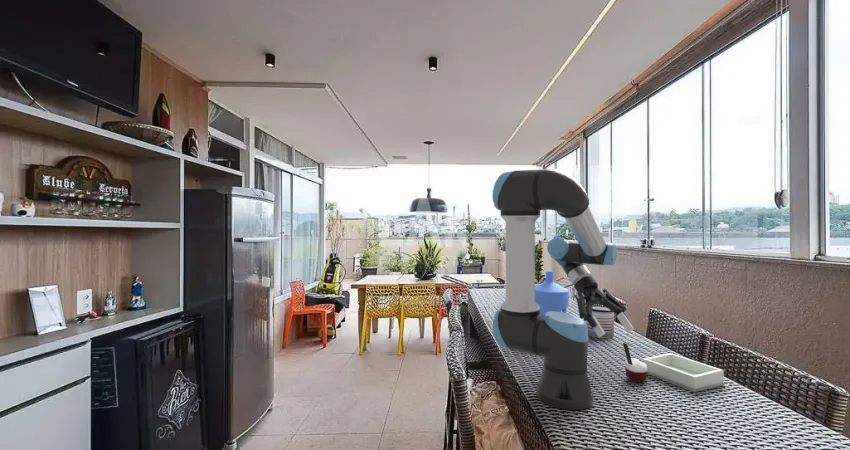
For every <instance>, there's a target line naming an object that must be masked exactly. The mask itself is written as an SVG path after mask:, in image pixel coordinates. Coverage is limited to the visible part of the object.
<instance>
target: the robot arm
mask: <svg viewBox="0 0 850 450" xmlns="http://www.w3.org/2000/svg"><path fill="white" fill-rule="evenodd" d="M492 189H493V190H492V203H493V206H494V207H495V209H496V210H498V211H500V218H502V219H503V221H504V222H505V301H503V302H502V303H501V305H500V308H499V309H498V310H496V312H495V313H494V315H493V318H494V319H493V320H492V331H493V332H492V333H493V338H494V339H495V341H496V342H497V344H498V345H499V346H500V347H502V348H503V349H507V350H510V351H512V352H519V353H524V354H529V355H532V356H537V357H542V358H543V368H542V369H543V370H542V373H541V375H540V377H539V382H538V383H537V385H536V396H537V399H539V400H540V401H541V402H542V403H544V404H546V405H548V406H551V407H554V408H557V409H562V410H568V411H580V410H581V411H582V410H587V409H589V408H592V406H593V405H594V392H593V390H592V386H591V382H590V379H589V376H588V354H589V351H588V348H589V345H588V344H589V335H588V328H587V324H586V321H588V322H589V324H590V326H591V327H592V328H593V329H594V330H595V332H596V334H597V335H598V337H602V336H603V335H604V334H605V332H604V330H603V328H602V327H601V325H600V324H599V322H598V321H597V319H596V317H595V316H592V308H593V305H595V304H596V305H600V306H603V307H605V308H608V309H610V310H611V311H613V312H614V314H616V318H617V320H619V323H620V324H621V325H622V327H623V328H624V329H625V332H626V333H627V334H629V333H631V332H632V331H633V330H634V329H635V328H634V326H633V325H632V323H631V322H630V320H629V318H628V316H627V315H626V313H625V311H627V307H626V306H624V304H622V303H621V302H620V301H619V300H618V299H616V297H614V296H613V295H611V294H610V292H609V291H608V290H607V289H606V288H604V289H603V290H600V289H599V288H598V287H599V284H598V281H596V279H595V277H594V276H592V273H591V271H590V270H589V269H588V267H587V266H586V265H595V266H614V265H615V264H616V261H617V258H618V250H617V249H618V248H617V246H616V244H615V243H611V242H606V241H605V239H604V238H603V235H602V233H601V231H600V228H599V226H598V224H597V223H596V221H595V218H594V216H593V213H592V212H591V211H592V210H591V209H590V197H589V196H588V193H587V192H586V190H585V188H584V187H583V186H582V185H581V184H580V183H579V182H578V180H575V178H573V177H572V176H571V175H569V174H568V173H566V172H564V171H560V170H558V169H555V168H554V169H553V168H542V169H525V170H512V171H506V172H502V173H501V174H500V175H498V178H497V179H496V180H495V182H494V185H493V188H492ZM547 210H549V211H555V212H556V213H557V214H558V215H559V216H560V217H562V218H563V219H564V220H565V222H566V224H567V225H568V227H569V229H570V230H571V232H572V234H573V235H574V237H575V240H576V241H572V240H571V241H570V240H569V241H567V239H565V238H563V237H560V236H558V237H557V236H556V237H553V238H552V239H550V240H549V241H548V243H547V245H546V251H547V252H548V254H549V255H550V257H551V258H552V259H553V260H555V262H557V263H558V265H560V267H561V269H563V271H564V273H565V274H566V276H567V277H568V279H569V281H570V282H571V284H572V285H573V286H574V287H573V288H574V289H575V291H576V292H577V293H576V294H575V295H574V298H575V299H576V303H577V309H578V316H577V315H575V314H572V313H567V312H566V313H564V312H562V311H561V312H556V311H549V312H546V313H545V315H544V316H543V315H540V306H539V305H538V304H537V303H536V302H535V286H536V222H537V220H538V219H539V218H540V217H541V211H547Z"/></svg>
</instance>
